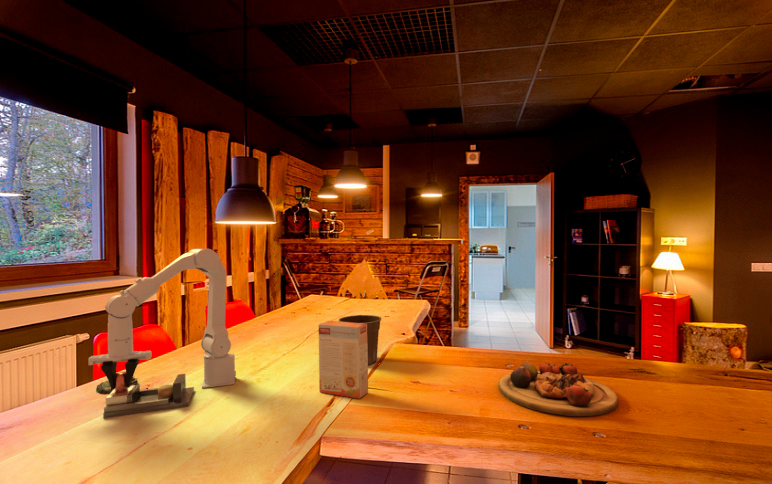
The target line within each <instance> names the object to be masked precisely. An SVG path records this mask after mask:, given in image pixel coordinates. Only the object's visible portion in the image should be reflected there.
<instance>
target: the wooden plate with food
mask: <svg viewBox="0 0 772 484" xmlns="http://www.w3.org/2000/svg"><path fill="white" fill-rule="evenodd" d="M538 369H539V370H538ZM538 369H537V367H536V366H535V365H534V363H531V362H530V361H529V360H527V361H525V362H522V364H520V365H519V366H518V367H515V369H513V371H511V373H508V374H506V375H504V376H503V377H501V378H500V380H499V381H498V389H499V392H500V393H501V394H502V395H503V397H505V398H507V399H508V400H509V401H511V402H513V403H515V404H517V405H519V406H522V407H525V408H527V409H530V410H534V411H537V412H543V413H546V414H553V415H559V416H569V417H593V416H594V417H595V416H600V415H604V414H608V413H610V412H612V411H613V410H615V409H616V408H617V406H618V405H619V397H618V395H617V394H616V393H615V392H614V390H612V388H610V387H609V386H607V385H605V384H603V383H600V382H599V381H596V380H593V379H589V378H587V377H584V374H583V373H578V369H577V367H576V365H573V364H569V363H567V362H565V363H563V364H561V366H559V365H556V364H554V363H553V364H552V365H551V364H550V363H549V362H546V361H545V362H544V363H539V368H538Z"/></svg>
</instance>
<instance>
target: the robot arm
mask: <svg viewBox="0 0 772 484" xmlns="http://www.w3.org/2000/svg"><path fill="white" fill-rule="evenodd" d="M220 258H221V257H220V255H219V253H217V252H215V251H214V250H213V249H210V248H192V249H191V250H189V251H188V252H186V253H183V254H181V255H180V256H179V257H178V258H176V259H174V260H173V261H172V262H171V263H169V264H168V265H167V266H165V267H164V268H163V269H160V270H159V271H158V272H157V273H155V274H154V275H152V276H151V277H149V276H148V277H147V276H145V277H142V278H140V277H138V278H137V279H135V280H134V281H135V283H133V284H132V285H130V286H129V287H126V289H124V290H123V289H122V290H120V291H119V294H118V295H113V296H112V297H110V298H109V299H108V300H107V302H106V303H105V304H106V305H105V306H104V310H105V311H106V312H107V314H108V317H107V321H108V323H107V351H108V352H107V353H106V354H99V355H91V356H90V357H88V366H93V365H99V364H100V365H101V366H100V370H101V372H103V373H104V375H105V377H106V379H107V381H109V383H110V387H111V390H112V389H115V374H116V373H117V364H118V363H119V362H126V363H124V367H125V372H126V388H129V387H130V386H131V384H132V378H133V377H134V374H135V371H136V369H137V367H138V365H139V362H140V361H141V360H150V359H151V358H152V351H151V350H145V351H144V350H143V351H142V350H140V351H137V350H136V351H135V350H134V339H133V338H134V335H133V331H134V330H133V328H134V327H133V313H134V312H135V309H136V307H139V306H140V305H142V304H143V303H145V302H146V301H147V300H149V299H150V298H151V297H153V296H154V295H156V294H157V293H158V292H159V288H160V286H161V285H162V284H165V283H166V282H168V281H169V280H171V279H173V277H175V276H177V275H178V274H179V273H181V272H183V271H186V270H195V269H197V270H199V271H201V272H202V273H203V274H204V275H205V276H206V277H208V290H207V291H208V294H207V295H208V296H207V298H208V299H207V325H206V327H205V329H204V332H203V333H204V335H203V337H202V339H201V342H200V346H201V349H202V350H203V351H204V354H203V375H204V376H203V382H202V384H201V389H202V388H203V389H204V388H205V389H206V388H212V387H213V388H215V387H222V386H230V385H235V379H236V375H237V374H236V373H237V372H236V370H235V369H236V368H235V367H236V363H235V358H236V357H235V353H229V352H230V351H231V347H232V344H231V340H230V337H229V332H228V329H227V328H226V301H227V270H226V267H225V266H224V264H223V263H222V261H221V259H220Z"/></svg>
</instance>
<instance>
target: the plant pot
mask: <svg viewBox="0 0 772 484" xmlns="http://www.w3.org/2000/svg"><path fill="white" fill-rule="evenodd" d="M381 321H382V317H380V316H378V315H372V314H371V315H370V314H359V315H358V314H356V315H347V316H343V317H341V318H338V322H350V323H363V324H367V347H368V365H371V364H374V363H375V362H377V361H378V345H379V335H380V334H379V330H380V328H381Z"/></svg>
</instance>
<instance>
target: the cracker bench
mask: <svg viewBox="0 0 772 484" xmlns="http://www.w3.org/2000/svg"><path fill="white" fill-rule="evenodd" d="M186 382H187V381H186V373H180V374H177V375H176V377H175V380H174V382H173V383H172V385H173V398H171V399H169V398H168V399H160V400H158V388H159V387H155V388H148V389H140V395H139V397H138V398H137V400H136V401H135V402H134V403H129V404H122V405H114V406H106V405H105V406H104V408H103V415H102V417H103V419H106V418H114V417H121V416H128V415H129V416H130V415H136V414H141V413H142V414H144V413H150V412H157V411H165V410H170V409H179V408H187V407H189V405H190V403H191V400H192V398H193V394H194V391H195V387H194V386H191V387H187V384H186Z"/></svg>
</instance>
